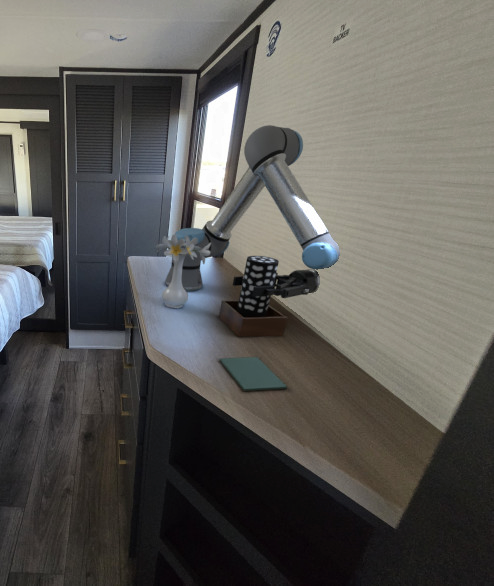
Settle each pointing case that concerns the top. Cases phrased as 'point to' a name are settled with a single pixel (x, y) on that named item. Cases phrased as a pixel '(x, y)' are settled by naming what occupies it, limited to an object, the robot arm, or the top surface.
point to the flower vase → (179, 267)
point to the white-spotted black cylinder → (256, 285)
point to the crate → (252, 321)
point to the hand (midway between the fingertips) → (243, 286)
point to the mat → (252, 374)
